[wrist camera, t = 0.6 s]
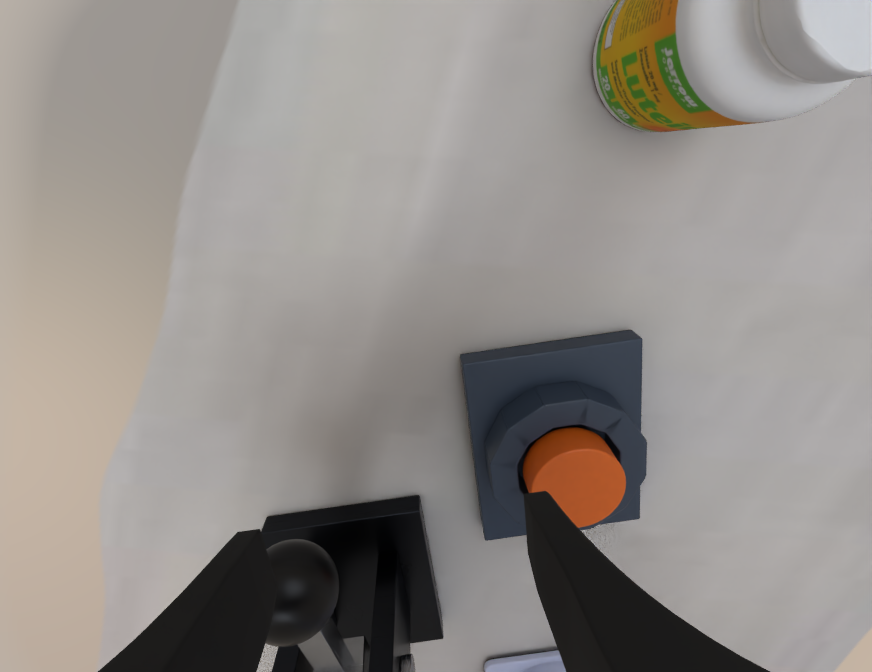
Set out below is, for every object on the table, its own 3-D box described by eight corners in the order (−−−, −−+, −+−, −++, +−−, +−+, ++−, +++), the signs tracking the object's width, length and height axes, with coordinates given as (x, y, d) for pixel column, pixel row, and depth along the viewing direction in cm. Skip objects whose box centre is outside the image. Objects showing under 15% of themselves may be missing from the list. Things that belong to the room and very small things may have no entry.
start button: (611, 494, 22) (627, 522, 21) (525, 507, 22) (534, 534, 21) (610, 420, 21) (627, 442, 19) (519, 433, 21) (527, 456, 19)
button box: (630, 503, 26) (657, 546, 23) (482, 524, 26) (490, 569, 23) (631, 329, 22) (662, 354, 19) (459, 353, 22) (466, 382, 20)
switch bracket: (266, 516, 25) (206, 664, 18) (419, 494, 25) (422, 634, 18) (306, 638, 28) (269, 807, 21) (442, 619, 28) (452, 782, 21)
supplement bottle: (561, 83, 19) (704, 14, 9) (649, -63, 17) (919, -312, 8) (667, 159, 20) (886, 162, 11) (759, 28, 18) (1105, -100, 9)
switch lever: (239, 527, 17) (211, 626, 14) (330, 514, 17) (319, 610, 14) (321, 659, 23) (312, 744, 20) (387, 650, 23) (387, 733, 20)
